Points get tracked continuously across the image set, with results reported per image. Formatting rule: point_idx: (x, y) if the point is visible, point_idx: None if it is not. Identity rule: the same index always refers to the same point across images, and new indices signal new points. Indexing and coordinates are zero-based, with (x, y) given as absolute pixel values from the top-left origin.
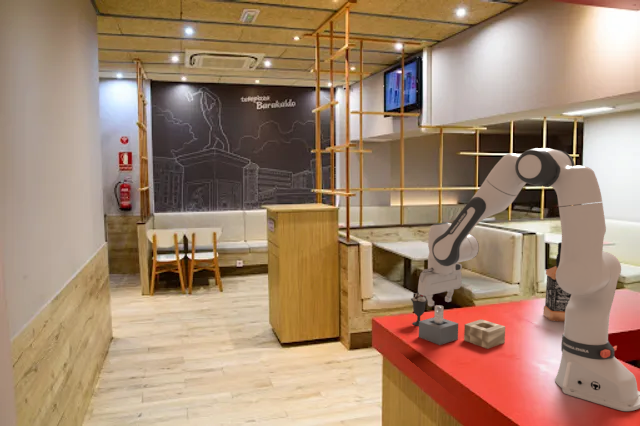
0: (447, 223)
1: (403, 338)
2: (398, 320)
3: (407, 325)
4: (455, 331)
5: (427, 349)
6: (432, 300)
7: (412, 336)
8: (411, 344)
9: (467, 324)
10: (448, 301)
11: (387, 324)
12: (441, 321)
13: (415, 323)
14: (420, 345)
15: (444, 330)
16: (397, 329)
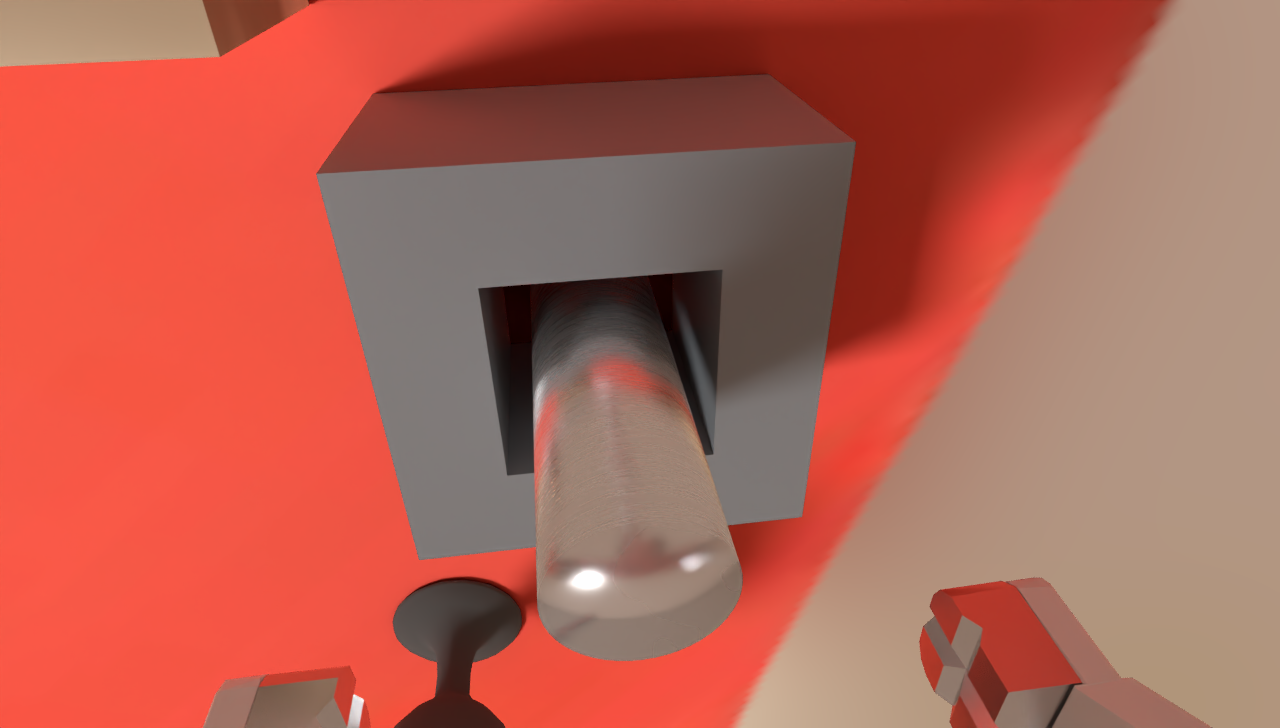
0: None
1: (893, 425)
2: (556, 724)
3: None
4: (420, 126)
5: (1006, 58)
6: (1119, 714)
7: None
8: (985, 273)
9: (153, 13)
10: (342, 676)
11: (711, 690)
12: (622, 337)
13: (497, 631)
14: (945, 202)
15: (726, 131)
16: None
